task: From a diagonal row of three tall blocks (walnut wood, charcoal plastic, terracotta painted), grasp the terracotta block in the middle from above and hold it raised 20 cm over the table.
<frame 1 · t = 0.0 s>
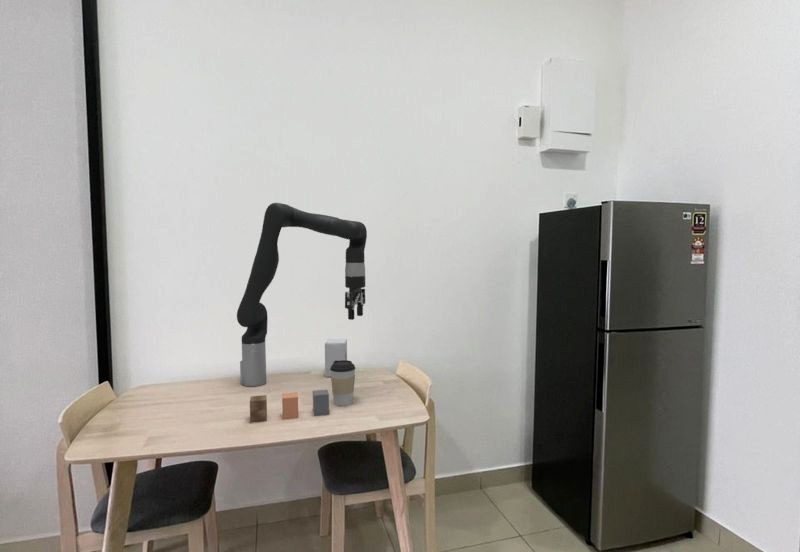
hand: (355, 317, 163), 29 cm above the table, tool pointing down, fingers open, 8 cm apart
supplement box: (336, 374, 190), on the table
charcoal block: (320, 412, 147), on the table
coffee cup: (343, 403, 156), on the table
walnut block: (258, 419, 141), on the table
terracotta block: (290, 415, 144), on the table
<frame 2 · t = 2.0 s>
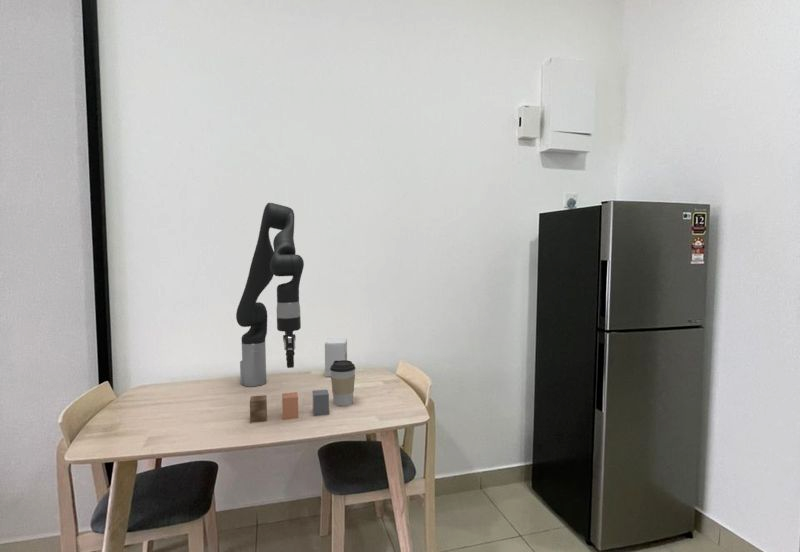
hand: (290, 364, 143), 17 cm above the table, tool pointing down, fingers open, 8 cm apart
nothing on the table moved.
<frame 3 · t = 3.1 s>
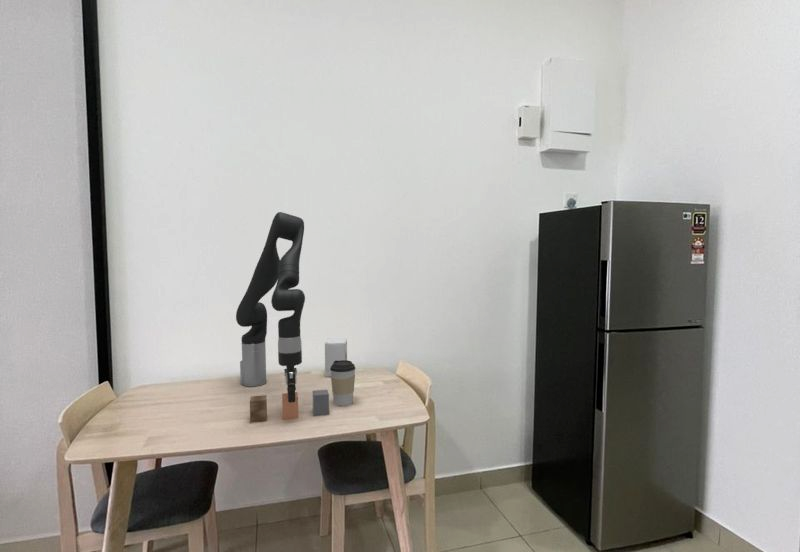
hand: (291, 397, 144), 6 cm above the table, tool pointing down, fingers open, 8 cm apart
nothing on the table moved.
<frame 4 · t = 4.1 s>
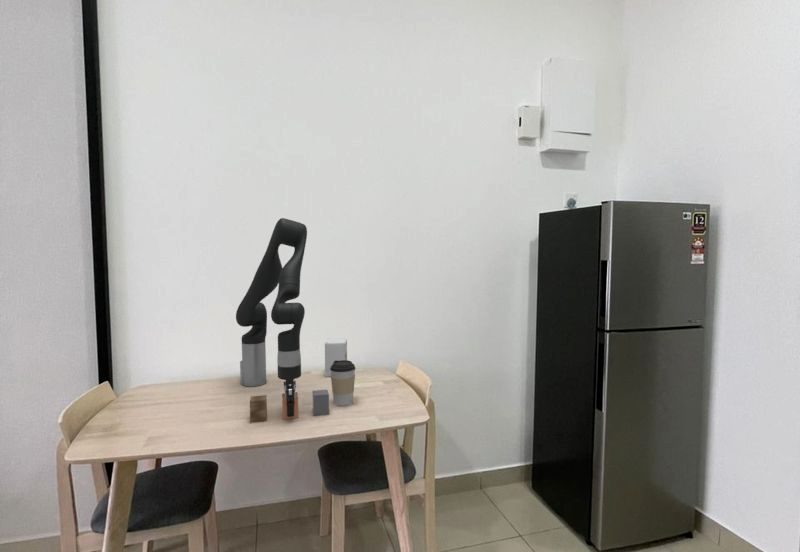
hand: (290, 412, 144), 1 cm above the table, tool pointing down, fingers closed on terracotta block, 5 cm apart
terracotta block: (290, 415, 144), on the table, touching gripper
everything else where it was.
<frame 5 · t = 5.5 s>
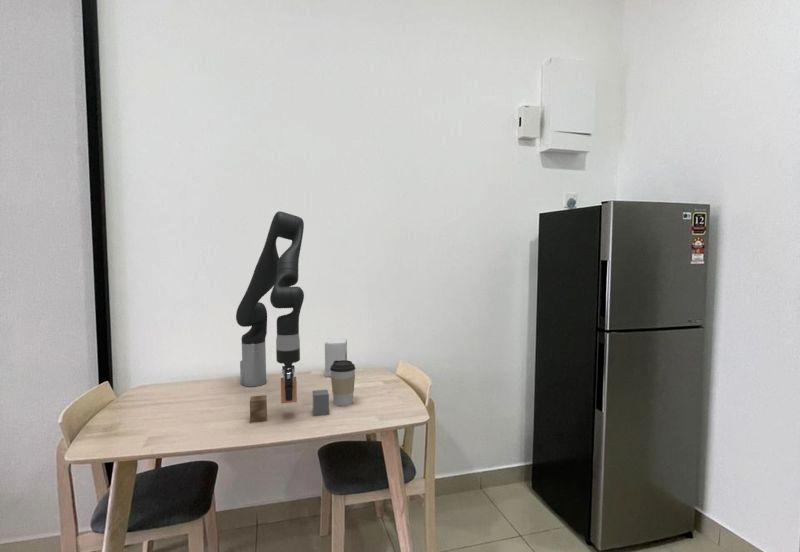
hand: (288, 397, 144), 6 cm above the table, tool pointing down, fingers closed on terracotta block, 5 cm apart
terracotta block: (288, 400, 144), point 5 cm above the table, touching gripper
everything else where it was.
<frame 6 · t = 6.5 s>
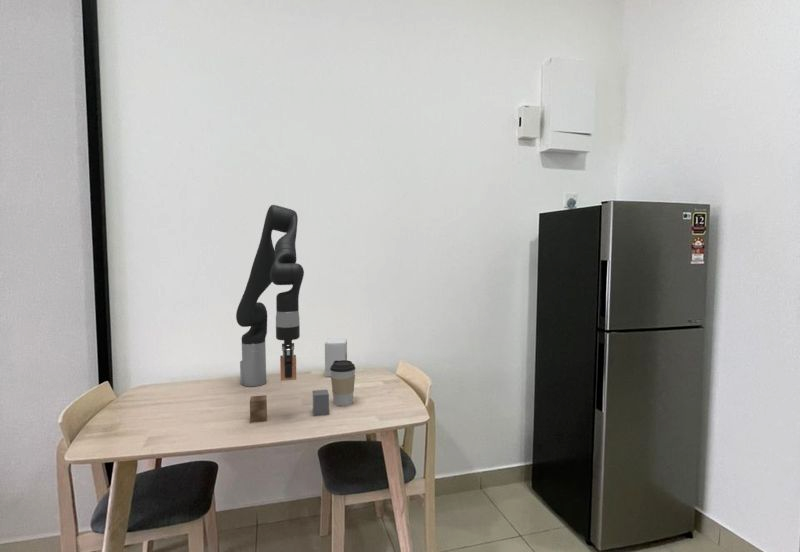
hand: (288, 374, 143), 14 cm above the table, tool pointing down, fingers closed on terracotta block, 5 cm apart
terracotta block: (288, 377, 143), point 13 cm above the table, touching gripper
everything else where it was.
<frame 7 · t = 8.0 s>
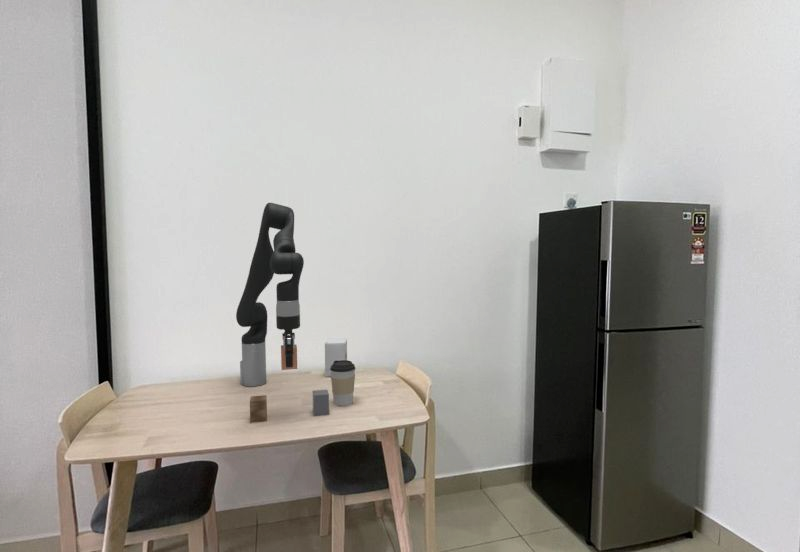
hand: (289, 364, 143), 17 cm above the table, tool pointing down, fingers closed on terracotta block, 5 cm apart
terracotta block: (289, 367, 143), point 16 cm above the table, touching gripper
everything else where it was.
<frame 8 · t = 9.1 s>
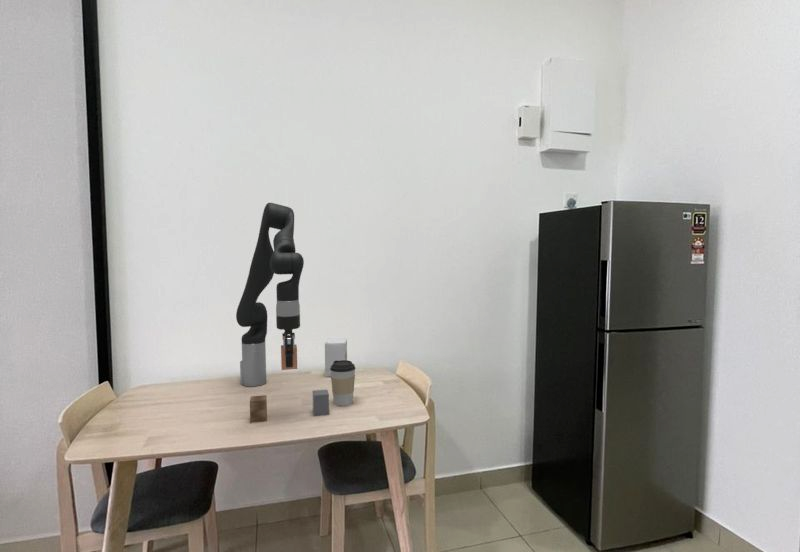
hand: (289, 364, 143), 17 cm above the table, tool pointing down, fingers closed on terracotta block, 5 cm apart
terracotta block: (289, 367, 143), point 16 cm above the table, touching gripper
everything else where it was.
at the end: terracotta block point 16.3 cm above the table; walnut block moved 0.1 cm from its start; charcoal block moved 0.1 cm from its start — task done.
